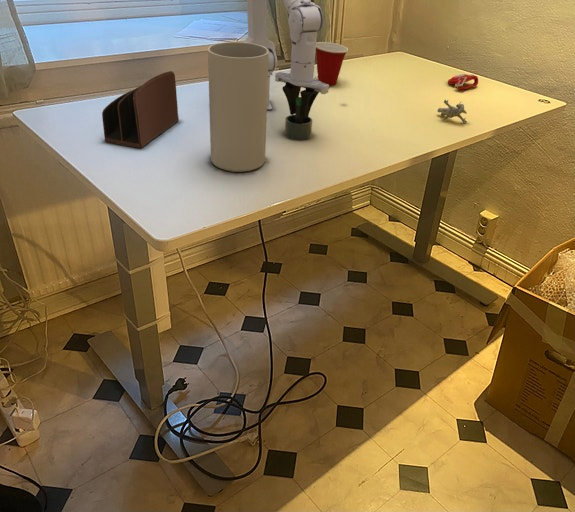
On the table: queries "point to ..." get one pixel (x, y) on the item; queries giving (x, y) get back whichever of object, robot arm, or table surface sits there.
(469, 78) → the keychain holder
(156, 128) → the letter holder
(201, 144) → the table surface
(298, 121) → the marker
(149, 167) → the table surface
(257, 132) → the cylinder vase
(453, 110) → the grey toy animal
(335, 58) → the plastic cup
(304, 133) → the tumbler
